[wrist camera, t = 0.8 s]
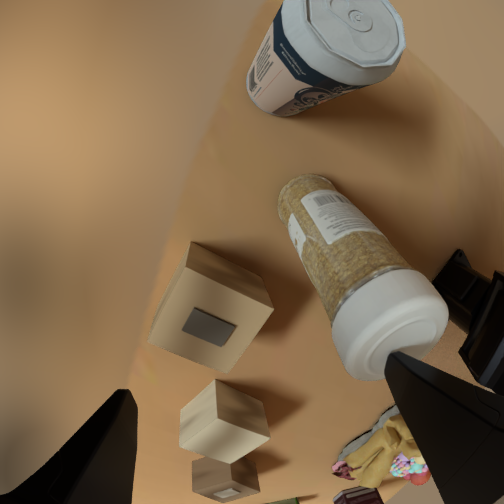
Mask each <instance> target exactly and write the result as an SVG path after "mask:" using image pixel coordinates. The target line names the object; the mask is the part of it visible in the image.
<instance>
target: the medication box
mask: <svg viewBox="0 0 504 504" xmlns="http://www.w3.org/2000/svg"><path fill="white" fill-rule="evenodd" d="M267 504H300V503H299V500H298V498H297V497H296V498H291V499H287V500H282V501H277V502H272V503H267Z"/></svg>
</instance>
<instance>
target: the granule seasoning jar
mask: <svg viewBox="0 0 504 504" xmlns="http://www.w3.org/2000/svg"><path fill="white" fill-rule="evenodd" d="M277 209H278V214H279V216H280V219H281V221H282V222H283V224H284V225H285V226H286V228H287V229H288V231H289V235H290V238H291V240H292V242H293V244H294V246H295V248H296V250H297V252H298V254H299V256H300V259H301V261H302V263H303V265H304V267H305V269H306V271H307V273H308V276H309V277H310V279H311V281H312V283H313V285H314V286H315V288H316V290H317V292H318V294H319V297H320V299H321V301H322V303H323V306H324V307H325V310H326V313H327V315H328V316H329V319H330V321H331V323H330V324H331V328H332V338H333V342H334V344H335V346H336V349H337V351H338V354H339V356H340V358H341V360H342V363H343V365H344V367H345V369H346V371H347V372H348V373H349V374H350V375H351V376H352V377H353V378H355V379H358V380H362V381H377V380H382V379H386V378H385V376H384V368H385V364H386V361H387V357H388V355H389V354H390V353H392V352H396V351H401V352H403V353H405V354H407V355H409V356H411V357H413V358H416V359H418V360H421V359H422V358H424V357H425V356H426V355H427V354H428V353H429V352H430V351H431V350H432V349H433V347H434V346H435V345H436V344H437V343H438V341H439V340H440V338H441V337H442V335H443V333H444V331H445V329H446V326H447V323H448V316H449V312H448V307H447V304H446V303H445V301H444V300H443V298H442V297H441V295H440V294H439V293H438V291H437V290H436V289H435V288H434V286H433V285H432V284H431V283H430V282H429V280H428V279H427V278H426V277H425V276H424V275H423V274H421V273H420V272H418V271H417V270H416V269H414V268H413V267H411V266H410V265H409V264H408V263H407V262H406V260H405V259H404V258H403V257H402V256H401V255H400V254H399V253H398V252H397V250H396V249H395V248H394V247H393V246H392V245H391V243H390V242H389V240H388V239H387V238H386V237H385V236H384V235H383V233H382V232H381V231H380V230H379V229H378V228H377V227H376V226H375V225H374V224H373V223H372V222H371V221H370V220H369V219H368V218H367V217H366V216H365V215H364V214H363V213H362V212H361V211H360V210H359V209H358V208H357V207H356V206H354V205H353V204H352V203H351V202H350V201H349V200H348V199H347V198H346V197H345V196H343V195H342V194H340V193H339V192H338V191H337V190H336V188H335V187H334V185H333V184H332V183H331V182H330V181H329V180H328V179H326V178H325V177H322V176H320V175H315V174H304V175H300V176H298V177H296V178H294V179H292V180H291V181H290V182H289V183H287V184H286V185H285V186H284V187H283V188H282V190H281V193H280V195H279V198H278V207H277Z"/></svg>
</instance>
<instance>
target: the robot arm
mask: <svg viewBox="0 0 504 504" xmlns="http://www.w3.org/2000/svg"><path fill="white" fill-rule="evenodd" d="M432 285H433V286H434V288H435V289H436V290H437V291H438V293H439V294H440V295H441V297H442V298H443V300H444V301H445V303H446V304H447V307H448V312H449V316H448V321H449V319H450V320H451V321H452V322H453V323H455V324H456V325H457V326H458V327H459V328H461V329H462V330H463V331H464V332H465V333H466V334H468V336H467V338H466V340H465V342H464V343H463V345H462V347H460V349H459V351H458V353H459V354H460V356H461V357H462V359H463V361H464V363H465V364H466V366H467V367H468V369H469V371H470V372H471V374H472V375H473V377H474V379H475V380H476V382H478V383H479V384H480V385H483V386H485V387H487V388H490V389H492V390H493V391H494V392H495V393H496V394H495V393H492V392H490V391H487V390H485V389H482V388H480V387H478V386H475V385H474V386H473V384H471V383H468V382H466V381H464V380H462V379H459V378H457V377H455V376H453V375H451V374H448V373H446V372H444V371H442V370H440V369H437V368H435V367H433V366H431V365H429V364H426V363H424V362H422V361H420V360H418V359H416V358H413V357H411V356H409V355H407V354H405V353H403V352H401V351H396V352H392V353H390V354H389V355H388V357H387V361H386V364H385V368H384V376H385V378H386V381H387V383H388V386H389V388H390V391H391V393H392V396H393V398H394V401H395V403H396V406H397V408H398V410H399V412H400V414H401V416H402V418H403V419H404V421H405V423H406V425H407V427H408V429H409V431H410V433H411V435H412V437H413V439H414V441H415V443H416V445H417V447H418V449H419V451H420V453H421V455H422V457H423V459H424V461H425V463H426V465H427V467H428V469H429V471H430V473H431V475H432V477H433V479H434V482H435V484H436V486H437V488H438V490H439V493H440V495H441V497H442V499H443V501H444V504H504V273H503V272H500V271H496V270H495V271H494V274H493V279H492V280H490V279H488V278H487V277H485V276H483V275H482V274H480V273H478V272H477V271H475V270H473V269H472V268H471V266H470V264H469V262H468V260H467V258H466V256H465V254H464V252H463V250H461V249H458V250H457V251H456V252H455V253H454V255H453V256H452V258H451V259H450V260H449V262H448V263H447V264H446V266H445V267H444V268H443V270H442V271H441V272H440V273H439V275H438V276H437V277H436V279H435V280H434V281H433V282H432ZM137 424H138V408H137V404H136V402H135V400H134V398H133V396H132V393H131V391H130V390H129V389H118V390H116V391H115V392H114V393H113V394H112V395H111V396H110V397H109V398H108V399H107V401H106V402H105V403H104V404H103V405H102V406H101V407H100V408H99V409H98V410H97V411H96V412H95V413H94V414H93V415H92V416H91V417H90V418H89V419H88V420H87V421H86V422H85V423H84V424H83V426H81V428H80V429H79V430H78V431H77V432H76V433H75V434H74V435H73V436H72V437H71V438H70V439H69V440H68V441H67V442H66V443H65V444H64V445H63V446H62V447H61V448H60V449H59V451H57V452H56V453H55V454H54V456H52V457H51V458H50V459H49V460H48V461H47V462H46V463H45V465H43V466H42V467H41V468H40V469H39V470H37V471H36V472H35V473H34V474H33V475H31V476H30V477H29V478H28V479H27V480H25V481H24V482H23V483H21V484H20V485H19V486H18V487H16V488H15V489H14V490H12V491H11V492H9V493H6V494H3V495H0V504H131V503H132V491H133V481H134V471H135V462H136V454H137Z"/></svg>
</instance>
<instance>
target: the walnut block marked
mask: <svg viewBox="0 0 504 504" xmlns="http://www.w3.org/2000/svg"><path fill="white" fill-rule="evenodd" d="M192 491H193V492H195V493H198V494H200V495H203V496H205V497H208V498H210V499H213V500H216V501H219V502H221V503H225V502H229V501H233V500H236V499H240V498H243V497H247V496H250V495H253V494H256V493H259V492H260V487H259V481H258V476H257V470H256V465H255V463H253V462H252V461H250V460H248V459H246V458H244V457H241V458H239V459H238V460H236V461H234V462H233V463H231V464H229V463H226V462H222V461H219V460H216V459H213V458H209V457H204V458H201V459H198V460H195V461H192Z"/></svg>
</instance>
